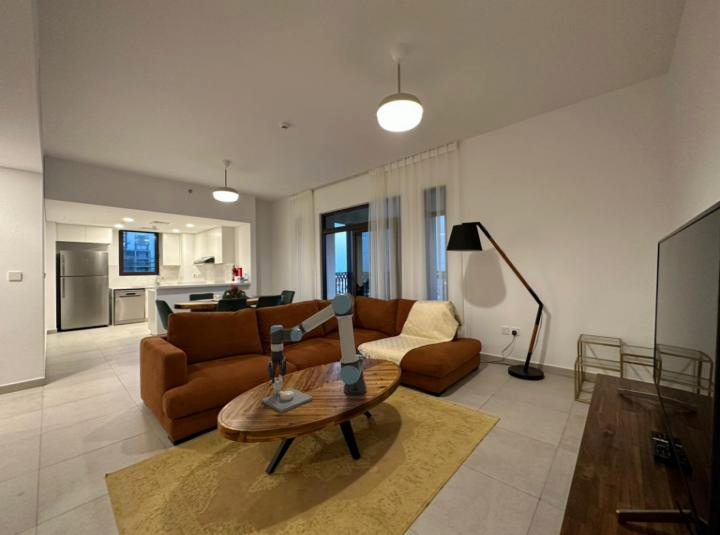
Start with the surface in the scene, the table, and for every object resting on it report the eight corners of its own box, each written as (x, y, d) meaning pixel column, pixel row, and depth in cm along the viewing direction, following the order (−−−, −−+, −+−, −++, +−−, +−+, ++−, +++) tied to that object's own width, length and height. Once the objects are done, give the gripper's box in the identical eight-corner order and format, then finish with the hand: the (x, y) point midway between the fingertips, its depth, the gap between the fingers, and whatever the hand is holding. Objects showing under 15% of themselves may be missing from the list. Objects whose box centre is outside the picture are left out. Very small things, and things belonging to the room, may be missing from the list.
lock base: (312, 399, 174) (312, 396, 174) (281, 412, 158) (281, 409, 158) (292, 390, 189) (292, 387, 189) (261, 401, 173) (261, 399, 173)
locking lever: (296, 397, 174) (296, 385, 174) (284, 401, 168) (284, 389, 168) (281, 390, 186) (281, 379, 186) (270, 394, 180) (270, 382, 180)
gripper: (285, 346, 191) (286, 381, 190) (261, 351, 178) (262, 389, 178) (291, 348, 186) (292, 384, 185) (267, 353, 173) (268, 392, 173)
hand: (277, 386), depth 181 cm, fingers closed on locking lever, 4 cm apart
